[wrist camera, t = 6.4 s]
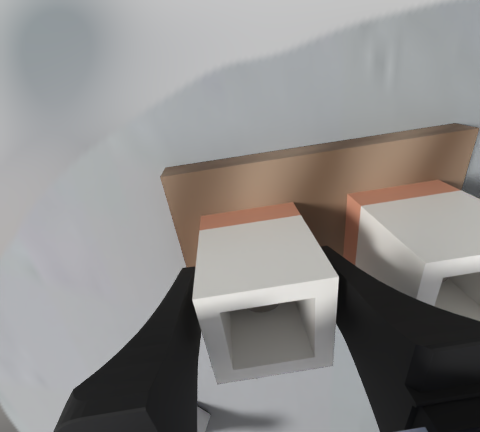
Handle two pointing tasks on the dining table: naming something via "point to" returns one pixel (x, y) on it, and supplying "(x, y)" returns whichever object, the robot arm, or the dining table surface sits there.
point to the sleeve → (264, 294)
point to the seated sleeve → (419, 242)
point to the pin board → (314, 180)
